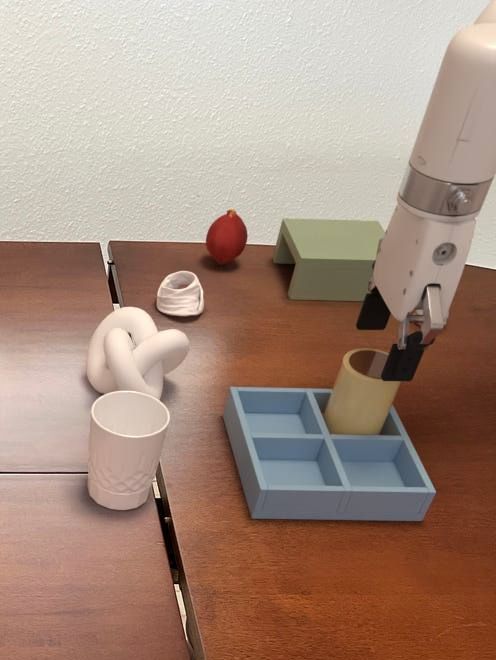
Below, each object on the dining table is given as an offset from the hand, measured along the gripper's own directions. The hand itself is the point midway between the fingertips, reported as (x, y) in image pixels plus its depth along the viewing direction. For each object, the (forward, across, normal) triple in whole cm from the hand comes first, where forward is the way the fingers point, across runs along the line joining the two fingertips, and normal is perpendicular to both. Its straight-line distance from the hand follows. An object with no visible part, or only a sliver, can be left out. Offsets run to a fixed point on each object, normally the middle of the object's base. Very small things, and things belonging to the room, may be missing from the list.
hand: (382, 353), depth 95 cm
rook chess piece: (+12, +27, -18) cm, 35 cm away
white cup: (+11, -10, +28) cm, 32 cm away
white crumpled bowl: (+12, +29, +16) cm, 35 cm away
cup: (+10, 0, +1) cm, 10 cm away
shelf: (+12, +38, -7) cm, 41 cm away
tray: (+11, -5, +5) cm, 13 cm away
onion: (+12, +42, +8) cm, 45 cm away
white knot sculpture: (+11, +8, +25) cm, 29 cm away
